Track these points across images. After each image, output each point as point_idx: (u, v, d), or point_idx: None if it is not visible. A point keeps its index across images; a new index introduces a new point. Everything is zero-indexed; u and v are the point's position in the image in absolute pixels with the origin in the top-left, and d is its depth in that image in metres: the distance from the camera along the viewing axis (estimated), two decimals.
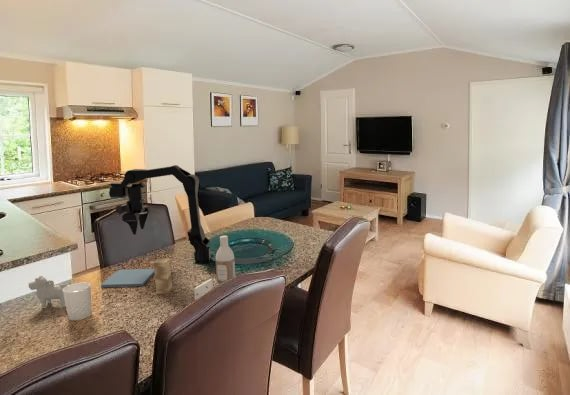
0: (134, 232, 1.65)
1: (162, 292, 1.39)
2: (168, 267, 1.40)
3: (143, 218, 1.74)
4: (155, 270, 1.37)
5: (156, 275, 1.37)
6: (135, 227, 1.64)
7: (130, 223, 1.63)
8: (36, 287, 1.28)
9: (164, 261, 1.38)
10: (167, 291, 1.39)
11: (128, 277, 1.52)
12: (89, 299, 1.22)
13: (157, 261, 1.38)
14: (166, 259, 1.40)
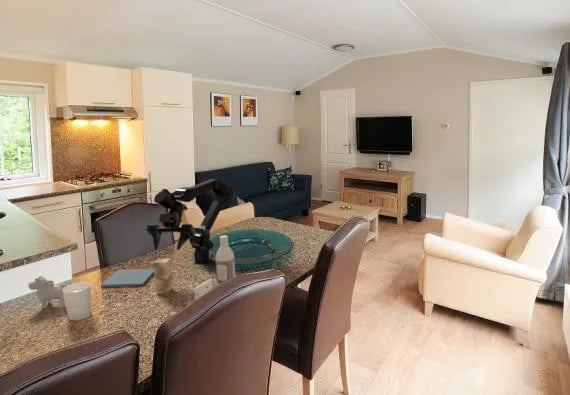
0: (179, 247, 1.47)
1: (162, 292, 1.39)
2: (168, 267, 1.40)
3: (158, 238, 1.51)
4: (155, 270, 1.37)
5: (156, 275, 1.37)
6: (183, 242, 1.49)
7: None
8: (36, 287, 1.28)
9: (164, 261, 1.38)
10: (167, 291, 1.39)
11: (128, 277, 1.52)
12: (89, 299, 1.22)
13: (157, 261, 1.38)
14: (166, 259, 1.40)
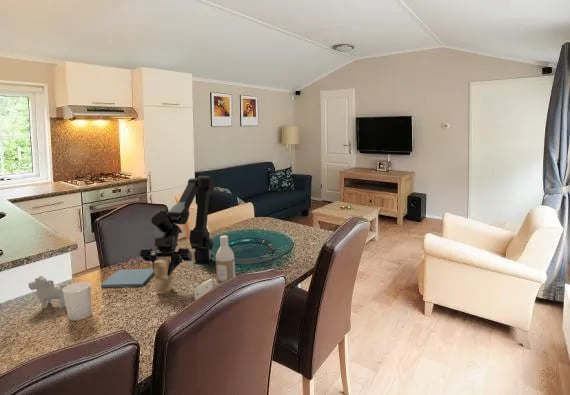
0: (170, 273, 1.39)
1: (162, 292, 1.39)
2: (168, 267, 1.40)
3: None
4: (155, 270, 1.37)
5: (156, 275, 1.37)
6: (174, 268, 1.41)
7: None
8: (36, 287, 1.28)
9: (164, 261, 1.38)
10: (167, 291, 1.39)
11: (128, 277, 1.52)
12: (89, 299, 1.22)
13: (157, 261, 1.38)
14: (166, 259, 1.40)
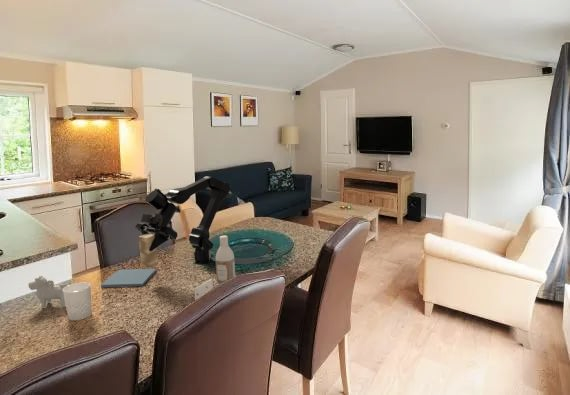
0: (152, 248, 1.45)
1: (145, 265, 1.46)
2: None
3: None
4: (139, 244, 1.46)
5: (140, 249, 1.46)
6: (158, 244, 1.47)
7: (158, 238, 1.46)
8: (36, 287, 1.28)
9: (147, 236, 1.45)
10: (149, 265, 1.46)
11: (128, 277, 1.52)
12: (89, 299, 1.22)
13: (142, 236, 1.46)
14: (151, 235, 1.46)
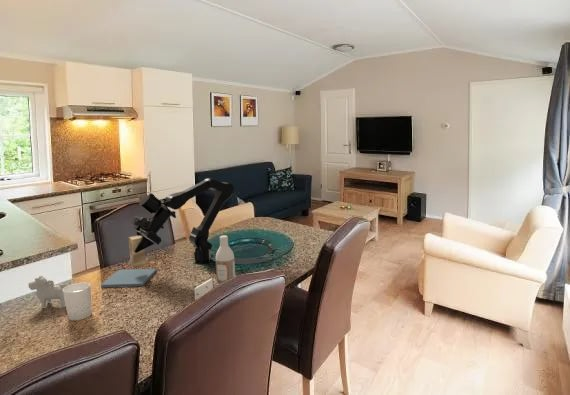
0: (137, 250, 1.51)
1: (132, 265, 1.53)
2: None
3: None
4: (129, 244, 1.53)
5: None
6: (144, 247, 1.52)
7: (143, 241, 1.51)
8: (36, 287, 1.28)
9: (134, 238, 1.51)
10: (134, 266, 1.52)
11: (128, 277, 1.52)
12: (89, 299, 1.22)
13: (132, 237, 1.53)
14: (139, 237, 1.52)
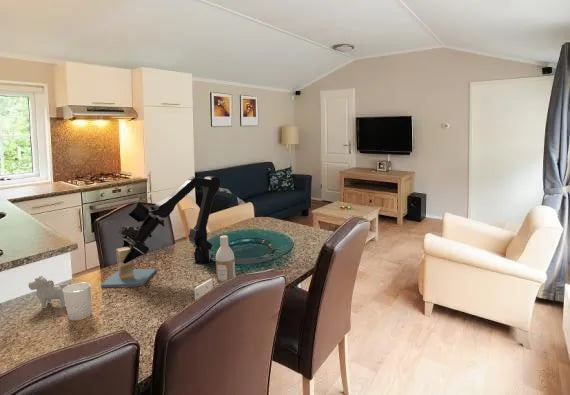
0: (126, 261, 1.47)
1: (120, 277, 1.51)
2: None
3: None
4: None
5: (117, 260, 1.51)
6: (132, 258, 1.48)
7: (132, 251, 1.47)
8: (36, 287, 1.28)
9: (121, 250, 1.49)
10: (121, 278, 1.50)
11: None
12: (89, 299, 1.22)
13: (119, 248, 1.51)
14: (127, 249, 1.50)
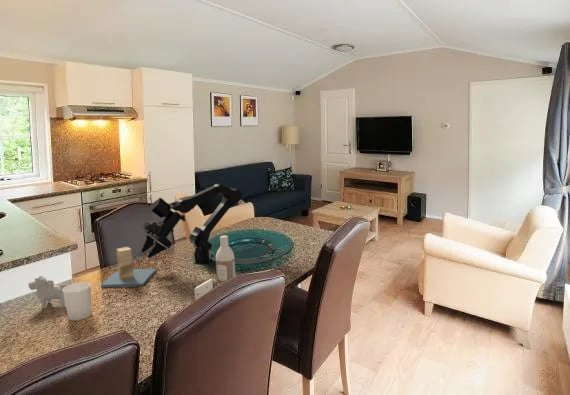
0: (150, 255, 1.53)
1: (120, 277, 1.51)
2: (126, 256, 1.49)
3: (151, 243, 1.62)
4: (117, 256, 1.51)
5: (117, 260, 1.51)
6: (156, 252, 1.53)
7: (156, 246, 1.52)
8: (36, 287, 1.28)
9: (121, 250, 1.49)
10: (121, 278, 1.50)
11: None
12: (89, 299, 1.22)
13: (119, 248, 1.51)
14: (127, 249, 1.50)
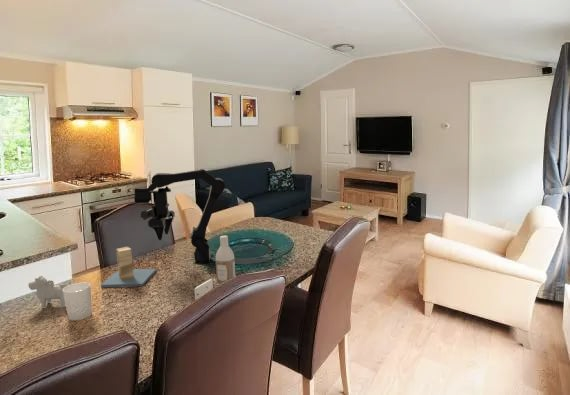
0: (160, 237, 1.61)
1: (120, 277, 1.51)
2: (126, 256, 1.49)
3: (167, 223, 1.70)
4: (117, 256, 1.51)
5: (117, 260, 1.51)
6: (161, 232, 1.60)
7: (156, 228, 1.59)
8: (36, 287, 1.28)
9: (121, 250, 1.49)
10: (121, 278, 1.50)
11: None
12: (89, 299, 1.22)
13: (119, 248, 1.51)
14: (127, 249, 1.50)
